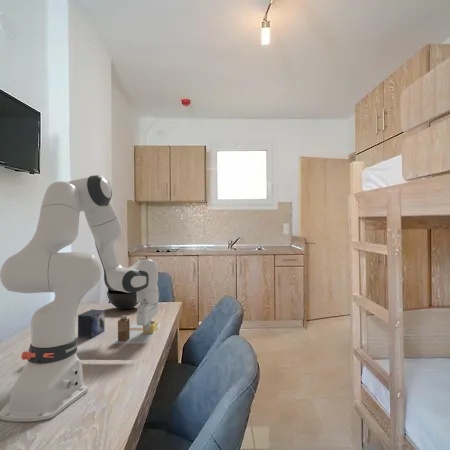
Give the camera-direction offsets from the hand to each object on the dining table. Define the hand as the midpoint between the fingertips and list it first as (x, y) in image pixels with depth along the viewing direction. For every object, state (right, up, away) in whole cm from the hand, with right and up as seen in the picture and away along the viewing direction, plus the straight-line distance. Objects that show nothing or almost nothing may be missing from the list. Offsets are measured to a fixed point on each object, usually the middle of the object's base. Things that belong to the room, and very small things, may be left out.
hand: (147, 330), depth 147 cm
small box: (-23, -3, 0) cm, 24 cm away
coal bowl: (-23, -3, +50) cm, 55 cm away
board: (-4, -3, +1) cm, 5 cm away
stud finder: (0, -1, +5) cm, 5 cm away
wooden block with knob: (-8, -2, -8) cm, 11 cm away
